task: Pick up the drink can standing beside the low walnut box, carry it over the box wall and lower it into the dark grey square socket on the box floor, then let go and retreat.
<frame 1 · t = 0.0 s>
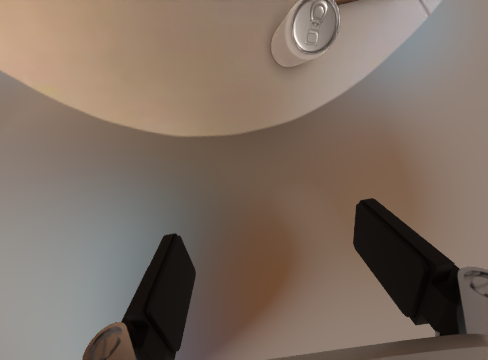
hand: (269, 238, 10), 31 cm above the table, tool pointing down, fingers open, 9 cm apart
can: (289, 45, 33), on the table
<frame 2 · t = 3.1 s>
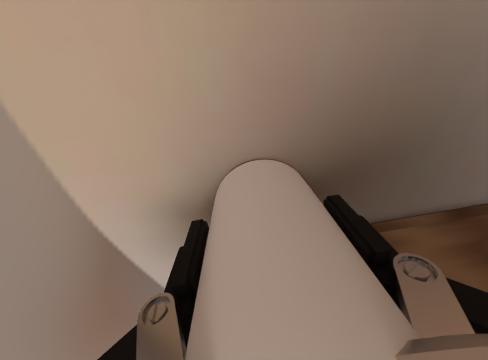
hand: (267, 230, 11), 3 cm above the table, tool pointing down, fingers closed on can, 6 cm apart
can: (260, 198, 14), on the table, touching gripper
bin: (416, 273, 18), on the table
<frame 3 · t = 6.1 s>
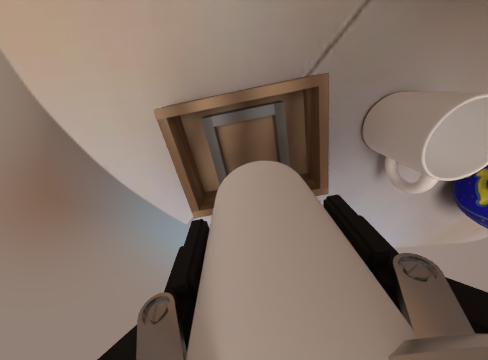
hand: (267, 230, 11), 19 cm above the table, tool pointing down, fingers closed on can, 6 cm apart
can: (260, 199, 14), point 15 cm above the table, touching gripper
bin: (248, 143, 28), on the table
ornament: (468, 177, 32), on the table
mug: (384, 136, 28), on the table
when the fingers open (6 cm above the table, at t = 8.9 s): can drops 1 cm, resting on bin.
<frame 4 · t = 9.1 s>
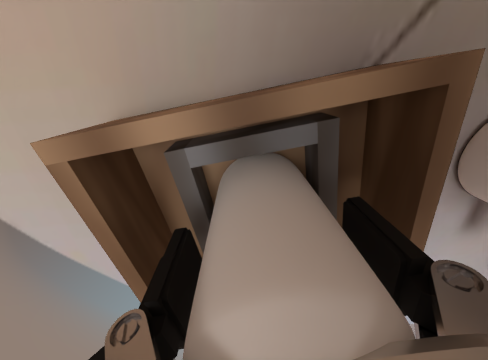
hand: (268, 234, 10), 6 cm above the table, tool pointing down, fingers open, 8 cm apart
can: (260, 188, 15), point 1 cm above the table, touching bin
bin: (257, 184, 16), on the table
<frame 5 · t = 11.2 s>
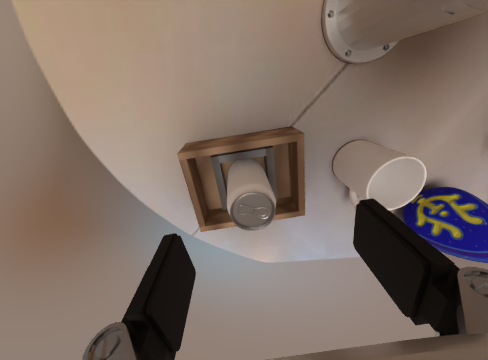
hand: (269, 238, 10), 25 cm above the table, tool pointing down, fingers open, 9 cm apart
can: (245, 174, 34), point 1 cm above the table, touching bin
bin: (244, 172, 35), on the table
ornament: (415, 202, 41), on the table
mug: (350, 170, 37), on the table
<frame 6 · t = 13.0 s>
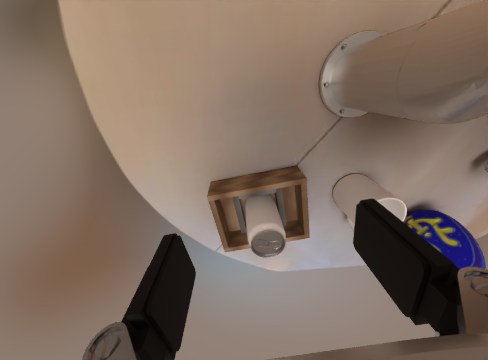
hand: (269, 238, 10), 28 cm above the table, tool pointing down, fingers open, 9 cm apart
can: (259, 203, 42), point 1 cm above the table, touching bin
bin: (258, 202, 43), on the table
ornament: (407, 220, 47), on the table
mug: (347, 196, 43), on the table
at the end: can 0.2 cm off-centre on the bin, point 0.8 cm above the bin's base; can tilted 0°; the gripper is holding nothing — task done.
